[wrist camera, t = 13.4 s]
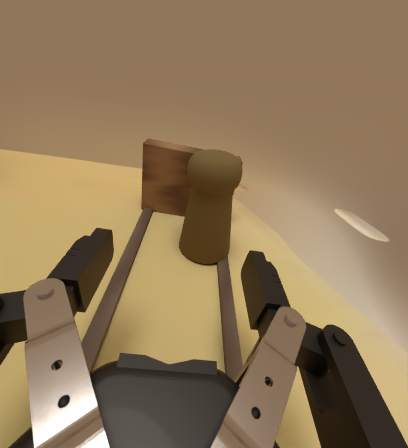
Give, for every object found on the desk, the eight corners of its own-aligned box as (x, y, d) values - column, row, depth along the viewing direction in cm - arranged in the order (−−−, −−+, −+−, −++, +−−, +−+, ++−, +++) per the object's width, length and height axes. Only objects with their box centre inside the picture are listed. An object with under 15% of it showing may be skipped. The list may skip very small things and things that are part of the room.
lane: (23, 454, 10) (-87, 385, 5) (145, 200, 31) (148, 138, 26) (260, 461, 11) (360, 412, 6) (223, 213, 32) (239, 156, 27)
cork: (220, 228, 28) (235, 144, 22) (237, 260, 23) (262, 164, 17) (175, 232, 26) (178, 142, 20) (184, 267, 22) (191, 163, 16)
